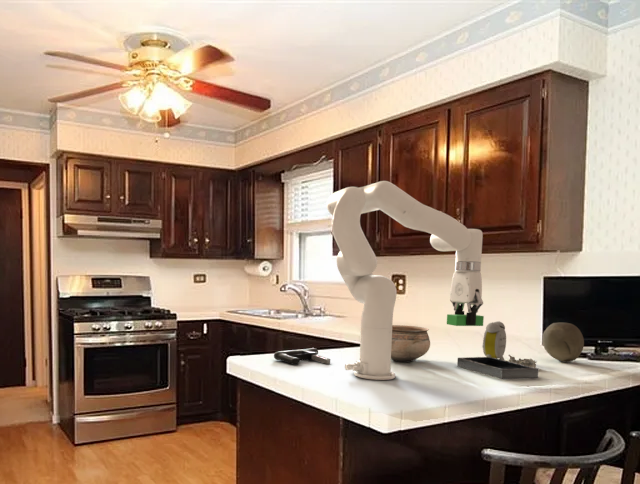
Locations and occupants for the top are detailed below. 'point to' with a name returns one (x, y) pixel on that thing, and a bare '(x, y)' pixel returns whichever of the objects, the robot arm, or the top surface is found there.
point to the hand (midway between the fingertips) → (464, 323)
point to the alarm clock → (494, 340)
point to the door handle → (300, 356)
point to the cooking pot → (409, 342)
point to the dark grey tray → (497, 368)
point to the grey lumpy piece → (523, 361)
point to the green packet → (463, 320)
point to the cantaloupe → (563, 341)
